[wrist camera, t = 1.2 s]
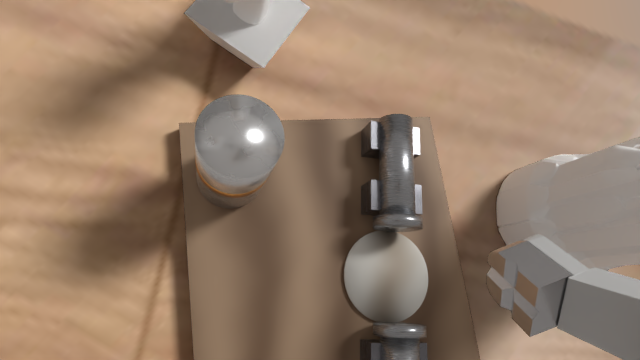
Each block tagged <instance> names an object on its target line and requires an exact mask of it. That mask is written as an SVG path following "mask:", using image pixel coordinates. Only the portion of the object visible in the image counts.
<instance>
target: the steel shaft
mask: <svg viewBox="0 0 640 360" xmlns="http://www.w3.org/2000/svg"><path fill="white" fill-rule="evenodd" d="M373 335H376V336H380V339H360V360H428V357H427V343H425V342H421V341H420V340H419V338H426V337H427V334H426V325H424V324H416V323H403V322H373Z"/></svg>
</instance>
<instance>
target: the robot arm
mask: <svg viewBox="0 0 640 360" xmlns="http://www.w3.org/2000/svg"><path fill="white" fill-rule="evenodd" d="M487 263H488V264H489V265H491V266H492V267H491V268H490V270H489V271H488V273H487V275H486V284H487V287H488V290H489V293H490V294H491V296H492V297H493V299H494V300H495V301H496V302H497V303H498V304H499V305H500V306H501V307H503V308H506V309H509V310H511V315H512V319H513V320H514V321H515V322H516V323H517V324H518V325H519V326H520V327H521V328H522V329H523V330H524V331H525V332H526V334H527V335H528V336H529V337H531V336H534V335H536V334H539V333H541V332H544V331H546V330H549V329H551V328H554V327H556V326H558V327H557V328H558V329H560V330H562V331H565V332H567V333H569V334H571V335H573V336H575V337H577V338H579V339H581V340H583V341H585V342H588V343H590V344H592V345H594V346H596V347H598V348H600V349H602V350H604V351H606V352H609V353H611V354H613V355H615V356H617V357H619V358H621V359H623V360H640V280H638V279H634V278H631V277H627V276H623V275H620V274H616V273H613V272H609V271H605V270H602V269H598V268H595V267H593V268H590V269H589V268H587V267H586V266H584V265H583V264H582V263H580V262H579V261H578V260H576V259H575V258H573V257H572V256H571V255H569V254H568V253H567V252H565V251H564V250H563V249H561V248H560V247H558V246H557V245H556V244H554V243H553V242H552V241H550V240H549V239H547V238H546V237H545V236H543V235H540V234H536V235H534V236H531V237H528V238H526V239H523V240H521V241H517V242H514V243H512V244H509V245H507V246H504V247H501V248H499V249H496V250H494V251H491V252H490V254H489V255H488V262H487Z"/></svg>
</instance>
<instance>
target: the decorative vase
mask: <svg viewBox="0 0 640 360" xmlns="http://www.w3.org/2000/svg"><path fill="white" fill-rule="evenodd" d="M496 213H497V226H498V227H499V228H498V230H499V232H500V234H501V236H502V238H503V240H504V242H505V244H506V245H509V244H512V243H514V242H517V241H521V240H523V239H526V238H528V237H531V236H534V235H536V234H540V235H543V236H545V237H546V238H547V239H549V240H550V241H552V242H553V243H554V244H556V245H557V246H558V247H560V248H561V249H563V250H564V251H565V252H567V253H568V254H569V255H571V256H572V257H573V258H575V259H576V260H578V261H579V262H580V263H582V264H583V265H584V266H586V267H587V268H589V269H590V268H593V267H595V268H598V269H602V270H605V271H608V270H609V269H612V268H616V267H620V266H624V265H640V137H637V138H634V139H631V140H629V141H626V142H623V143H620V144H617V145H614V146H611V147H608V148H606V149H603V150H600V151H597V152H594V153H591V154H571V155H567V154H562V155H556V156H552V157H549V158H545V159H543V160H540V161H537V162H535V163H532V164H529V165H527V166H524V167H521V168H519V169H516V170H514V171H513V172H512V173H510V174H509V175H508V176H507V178H506V179H505V180H504V181H503V183H502V185H501V187H500V190H499V194H498V196H497V201H496Z"/></svg>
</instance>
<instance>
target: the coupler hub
mask: <svg viewBox="0 0 640 360" xmlns="http://www.w3.org/2000/svg"><path fill="white" fill-rule="evenodd" d="M284 141H285V136H284V129H283V126H282V123H281V121H280V119H279V117H278V116H277V114H276V113H275V112H274V111H273V110H272V109H271V108H270V107H269V106H268V105H267V104H265V103H264V102H262V101H261V100H259V99H256V98H254V97H251V96H246V95H228V96H224V97H221V98H218V99H216V100H214V101H213V102H211V103H210V104H209V105H208V106H206V107H205V109H204V110H203V111H202V112H201V114H200V115H199V117H198V119H197V122H196V125H195V163H196V177H197V184H198V187H199V190H200V192H201V193H202V195H203V196H204V197H205V198H206V199H207V200H208V201H209V202H211V203H212V204H214V205H216V206H218V207H222V208H228V209H233V208H239V207H242V206H245V205H247V204H248V203H250V202H251V201H253V200H254V199H255V198H256V196H257V195H258V194H259V192H260V190H261V188H262V187H263V185H264V183H265V182H266V180H267V179H268V177H269V175H270V173H271V171H272V170H273V168H274V166H275V165H276V163H277V161H278V159H279V158H280V156H281V154H282V151H283V148H284Z"/></svg>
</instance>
